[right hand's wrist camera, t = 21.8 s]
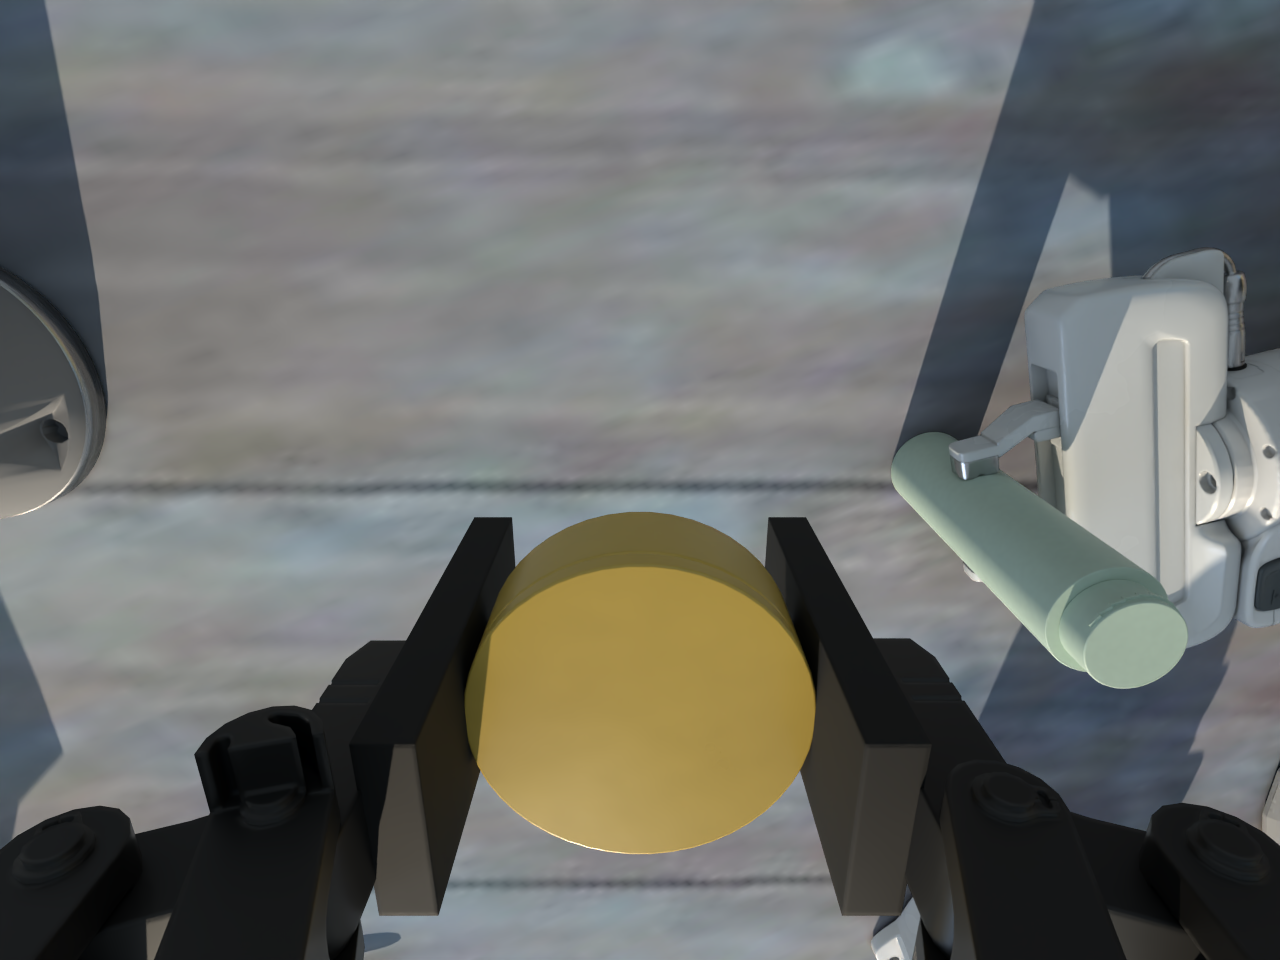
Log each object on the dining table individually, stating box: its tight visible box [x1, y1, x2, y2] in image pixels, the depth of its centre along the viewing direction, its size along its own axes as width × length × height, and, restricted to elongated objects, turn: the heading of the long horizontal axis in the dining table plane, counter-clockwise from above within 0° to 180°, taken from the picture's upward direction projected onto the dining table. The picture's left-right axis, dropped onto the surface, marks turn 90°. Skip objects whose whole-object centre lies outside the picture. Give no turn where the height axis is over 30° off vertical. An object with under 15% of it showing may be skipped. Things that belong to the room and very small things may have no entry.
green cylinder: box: [891, 432, 1188, 689], centre depth 34 cm, size 4×4×19 cm
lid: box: [464, 512, 816, 854], centre depth 11 cm, size 5×5×2 cm
